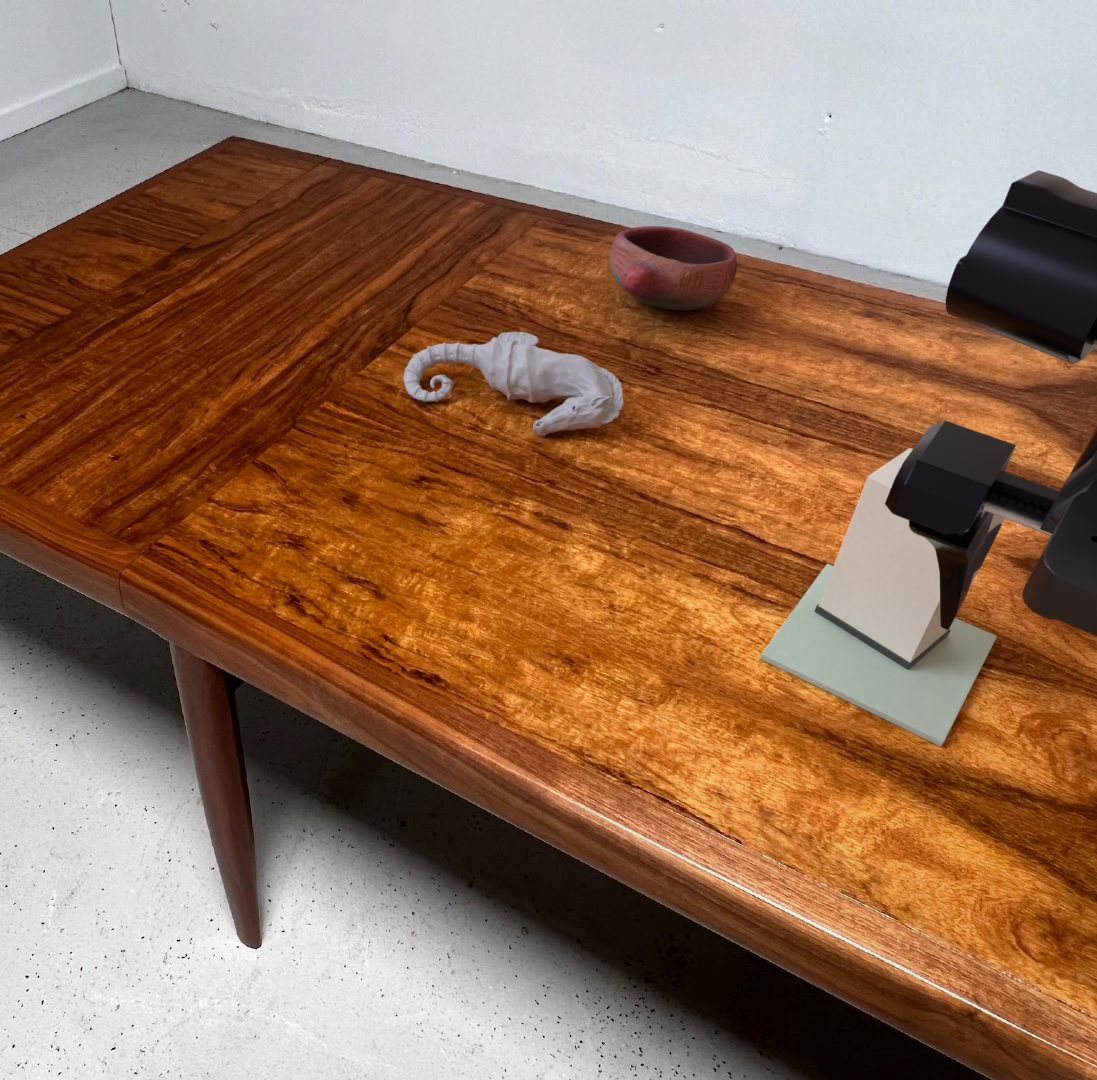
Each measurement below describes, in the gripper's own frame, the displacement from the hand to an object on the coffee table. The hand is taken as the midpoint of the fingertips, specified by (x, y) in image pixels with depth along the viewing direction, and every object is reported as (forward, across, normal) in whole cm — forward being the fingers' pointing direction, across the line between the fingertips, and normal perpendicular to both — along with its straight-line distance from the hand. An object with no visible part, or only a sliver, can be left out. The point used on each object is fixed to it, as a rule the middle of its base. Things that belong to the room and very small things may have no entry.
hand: (1039, 665), depth 54 cm
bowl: (+13, -42, +46) cm, 64 cm away
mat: (+13, -8, +11) cm, 19 cm away
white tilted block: (+12, -9, +13) cm, 20 cm away
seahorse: (+13, -45, +21) cm, 51 cm away
